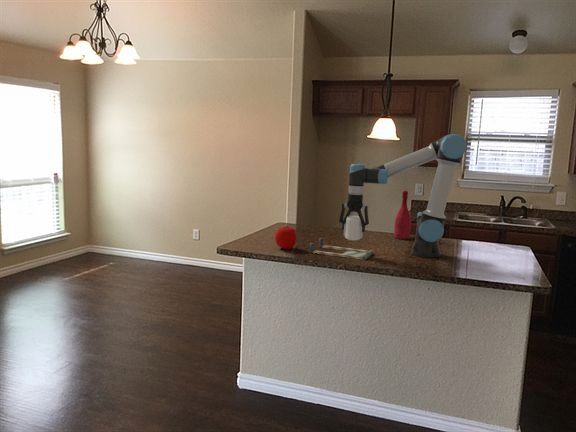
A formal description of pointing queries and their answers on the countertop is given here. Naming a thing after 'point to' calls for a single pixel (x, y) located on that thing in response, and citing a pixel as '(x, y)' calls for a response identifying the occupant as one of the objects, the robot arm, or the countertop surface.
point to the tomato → (285, 237)
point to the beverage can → (353, 228)
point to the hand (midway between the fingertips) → (353, 236)
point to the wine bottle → (403, 220)
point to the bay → (349, 252)
